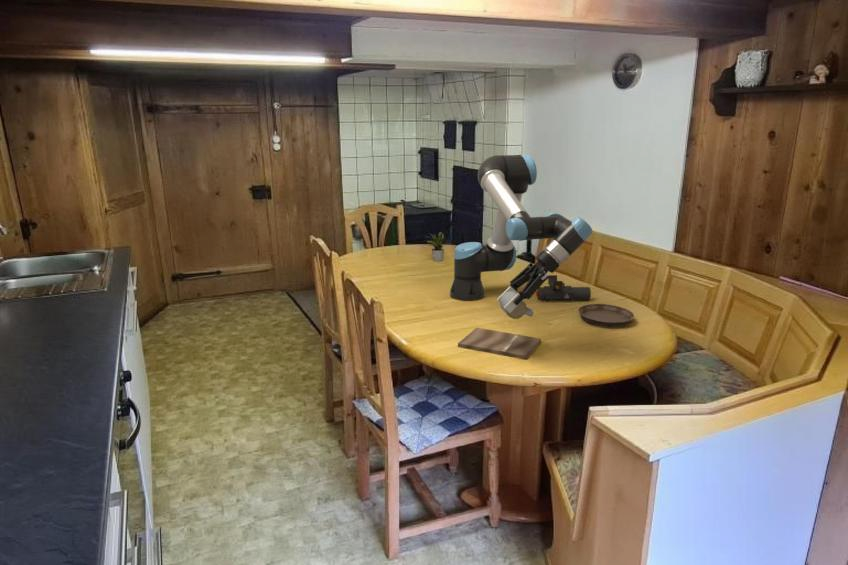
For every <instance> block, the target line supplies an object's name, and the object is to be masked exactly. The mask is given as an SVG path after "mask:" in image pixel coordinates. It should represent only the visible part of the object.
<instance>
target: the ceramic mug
mask: <svg viewBox="0 0 848 565" xmlns="http://www.w3.org/2000/svg"><path fill="white" fill-rule="evenodd" d="M502 294H503V293H502ZM517 294H519V293H518V291H517V292H514V291H509V292H506V293H505V294H503V296H502V297H501V299H500V302H499V305H500V308H501V310H502V311H503V312H504V313H505V314H506V316H508V317H509V318H511V319H513V320H514V319H515V320H518V319H521V318H522V317H524V316H528V317H533V315H534V312H535V311H533V310H532V308H530V307H528V306H527V304H526V302H525V299H524V300H523V301H522V302H521V303H520V304H519V305H518V306H517V307H516V308H515V309H514V310H513V311H512V312H511V313H509V312H508V311H507V310H506V309H505V308H504V307H505V306H506V305H507V304H508V303H509V302H510V301H511V300H512V299H513V298H514V297H515V296H516V295H517Z"/></svg>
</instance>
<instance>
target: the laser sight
mask: <svg viewBox="0 0 848 565" xmlns="http://www.w3.org/2000/svg"><path fill="white" fill-rule="evenodd" d="M547 276H548V277H549V278H548V279H547V281H548V282H547V284H548V285H543V286H540V287H539V288H538V290H537V291H536V292H535V296H536V297H537V300H538V302H541V301H544V300H545V301H544V302H573V301H589V300H591V297H592V295H591V294H592V292H591V291H592V290H591V287H590V286H572V285H566V284H565V283H564V282H563V280H558V275H557V274H554V275H553V274H552V275H551V274H549V275H547Z"/></svg>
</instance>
